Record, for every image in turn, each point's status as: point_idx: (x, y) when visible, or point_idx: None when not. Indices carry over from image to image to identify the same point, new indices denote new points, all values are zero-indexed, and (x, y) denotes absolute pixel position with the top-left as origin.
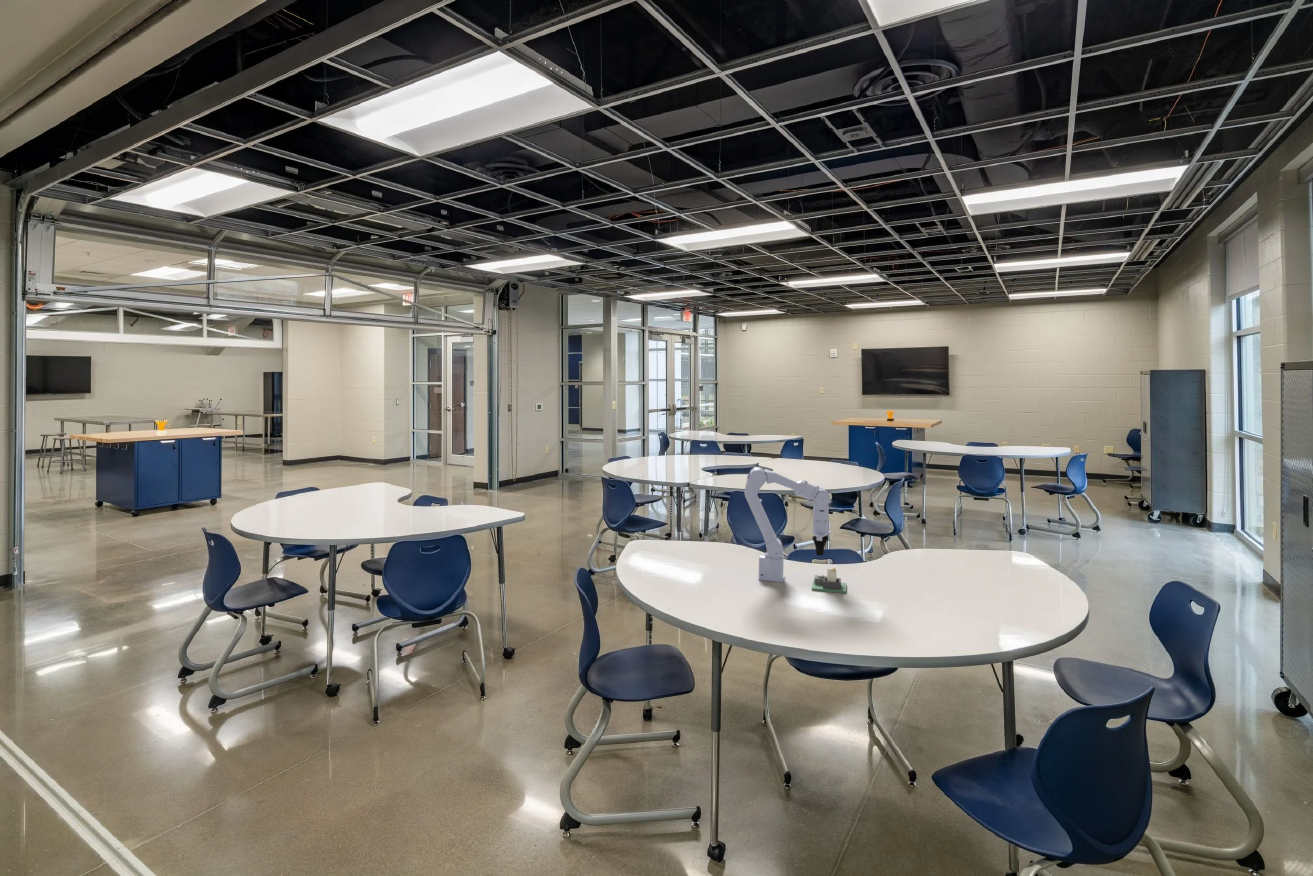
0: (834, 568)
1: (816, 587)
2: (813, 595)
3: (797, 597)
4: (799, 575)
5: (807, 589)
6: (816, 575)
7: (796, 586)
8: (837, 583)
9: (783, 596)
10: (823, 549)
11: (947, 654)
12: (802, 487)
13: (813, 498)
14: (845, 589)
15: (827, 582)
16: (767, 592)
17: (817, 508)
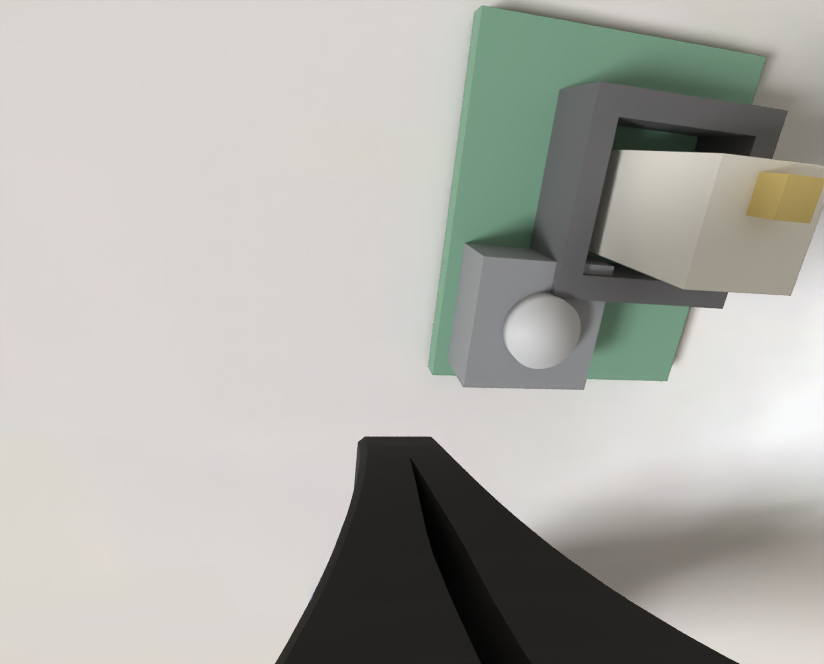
0: (782, 195)
1: (652, 344)
2: (753, 355)
3: (783, 456)
4: (229, 489)
5: (618, 403)
6: (485, 372)
7: (552, 483)
8: (772, 150)
9: (758, 534)
10: (507, 516)
11: None
12: None
13: None
14: (711, 53)
15: None
16: (683, 622)
17: None
